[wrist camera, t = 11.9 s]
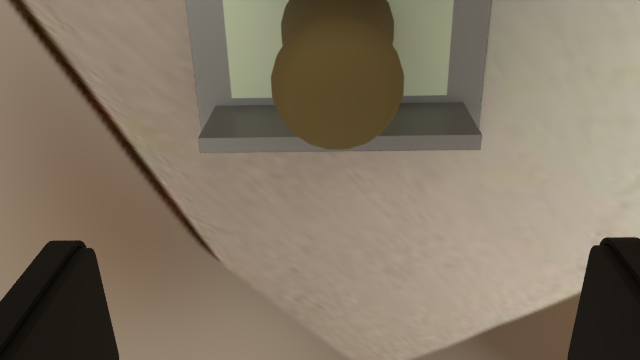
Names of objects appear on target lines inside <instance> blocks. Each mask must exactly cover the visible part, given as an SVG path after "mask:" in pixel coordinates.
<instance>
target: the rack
mask: <svg viewBox="0 0 640 360" xmlns="http://www.w3.org/2000/svg"><path fill="white" fill-rule="evenodd" d="M185 1H186V9H187V18H188V26H189V34H190V42H191V50H192V59H193V67H194V75H195V83H196V92H197V100H198V108H199V116H200V125H201V134H200V135H199V137H198V142H199V150H200V153H237V152H327V151H416V150H480V149H481V139H482V134H481V132H480V130H479V121H480V111H481V101H482V91H483V82H484V72H485V62H486V52H487V42H488V33H489V23H490V13H491V3H492V0H387V2H388V3H389V6H390V9H391V12H392V16H393V19H394V39H393V44H392V45H393V47H394V48H395V50H396V51H397V53H398V56H399V59H400V63H401V66H402V69H403V73H404V93H403V98H402V100H401V103H400V106H399V108H398V111H397V114H396V116H395V118H394V119H393V120H392V121H391V123H390V124H389V125H388V126H387V128H386V129H385V130H384V131H383V133H381V134H380V135H378V136H377V137H375V138H374V139H372V140H371V141H369V142H368V143H367V144H363V145H360V146H357V147H354V148H351V149H338V150H328V149H325V148H321V147H317V146H314V145H310V144H309V143H307V142H305V141H304V140H302V139H301V138H299V137H298V136H296V135H294V134H293V133H292V131H291V130H290V129H289V128H288V127H287V125H286V124H285V123H284V122H283V121H282V120H281V118H280V116H279V113H278V111H277V108H276V106H275V103H274V101H273V98H272V88H271V75H272V71H273V67H274V63H275V59H276V56H277V54H278V52H279V51H280V49H281V48H282V46H283V45H282V35H281V21H282V17H283V13H284V10H285V6H286V4H287V3H288V1H289V0H185Z"/></svg>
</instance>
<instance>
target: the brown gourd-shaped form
mask: <svg viewBox="0 0 640 360" xmlns="http://www.w3.org/2000/svg"><path fill="white" fill-rule="evenodd" d="M281 35H282V45H283V46H282V48H281V49H280V51H279V52H278V54H277V56H276V59H275V63H274V67H273V71H272V75H271V88H272V98H273V101H274V103H275V106H276V108H277V111H278V113H279V116H280V118H281V120H282V121H283V122H284V123H285V124H286V125H287V127H288V128H289V129H290V130H291V131H292V133H293V134H294V135H296V136H298V137H299V138H301V139H302V140H304V141H305V142H307V143H309V144H310V145H314V146H317V147H321V148H325V149H328V150H338V149H351V148H354V147H357V146H360V145H363V144H367V143H368V142H369V141H371V140H372V139H374V138H375V137H377V136H378V135H380V134H381V133H383V131H384V130H385V129H386V128H387V126H388V125H389V124H390V123H391V121H392V120H393V119H394V118H395V116H396V114H397V111H398V108H399V106H400V103H401V100H402V98H403V93H404V73H403V69H402V66H401V63H400V59H399V56H398V53H397V51H396V50H395V48H394V47H393V45H392V44H393V39H394V19H393V16H392V12H391V9H390V6H389V3H388V2H387V0H289V1H288V3H287V4H286V6H285V10H284V13H283V17H282V21H281Z"/></svg>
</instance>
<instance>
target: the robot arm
mask: <svg viewBox="0 0 640 360" xmlns="http://www.w3.org/2000/svg"><path fill="white" fill-rule="evenodd" d="M0 360H119V353H118V349H117V345H116V341H115V336H114V332H113V327H112V323H111V319H110V315H109V310H108V306H107V302H106V297H105V293H104V289H103V284H102V280H101V276H100V271H99V267H98V263H97V258H96V255H95V252H94V250H93V249H92V248H86V245H85V244H84V242H82V241H50V242H49V243H47V244H46V245H45V246H44V248H43V249H42V250H41V251H40V253H39V254H38V255H37V256H36V258H35V259H34V260H33V262H32V263H31V264H30V265H29V266H28V268H27V269H26V270H25V272H24V273H23V274H22V275H21V276H20V278H19V279H18V280H17V281H16V283H15V284H14V285H13V286H12V288H11V289H10V290H9V292H8V293H7V294H6V295H5V297H4V298H3V299H2V300H1V301H0ZM568 360H640V239H639V238H635V237H622V238H604V239H603V240H602V241H601V243H600V245H595V246H593V247H592V248H591V250H590V254H589V259H588V263H587V268H586V273H585V277H584V282H583V287H582V291H581V296H580V301H579V305H578V310H577V315H576V319H575V324H574V329H573V333H572V338H571V343H570V347H569V352H568Z"/></svg>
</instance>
